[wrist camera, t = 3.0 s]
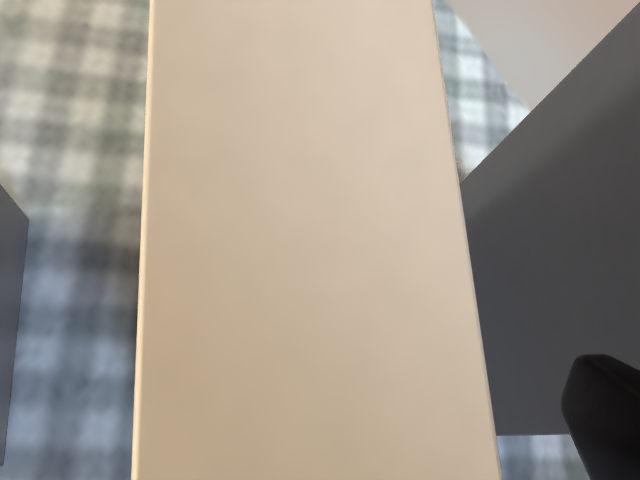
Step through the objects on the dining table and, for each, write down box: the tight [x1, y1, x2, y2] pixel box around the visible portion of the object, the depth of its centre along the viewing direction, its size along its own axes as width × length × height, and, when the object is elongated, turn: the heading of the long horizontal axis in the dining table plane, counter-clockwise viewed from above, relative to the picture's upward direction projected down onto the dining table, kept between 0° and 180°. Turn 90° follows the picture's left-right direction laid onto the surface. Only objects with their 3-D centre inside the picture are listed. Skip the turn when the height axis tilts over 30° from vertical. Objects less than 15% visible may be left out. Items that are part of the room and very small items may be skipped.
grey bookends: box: [0, 2, 640, 466], centre depth 13 cm, size 7×18×11 cm, turn 93°
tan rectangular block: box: [131, 0, 502, 480], centre depth 11 cm, size 8×2×14 cm, turn 3°
